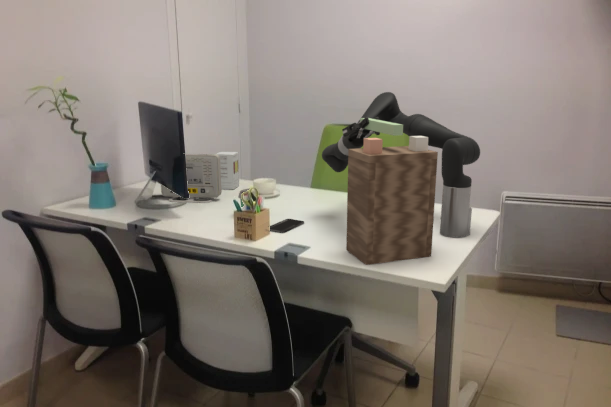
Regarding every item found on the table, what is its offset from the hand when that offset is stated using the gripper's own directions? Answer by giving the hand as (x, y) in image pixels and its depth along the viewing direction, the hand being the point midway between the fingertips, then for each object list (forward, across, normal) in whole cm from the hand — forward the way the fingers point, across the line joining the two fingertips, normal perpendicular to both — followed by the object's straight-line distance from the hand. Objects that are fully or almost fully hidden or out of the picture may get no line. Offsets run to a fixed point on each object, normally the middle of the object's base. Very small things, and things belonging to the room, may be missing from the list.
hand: (372, 119), depth 167 cm
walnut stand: (-9, 0, +41) cm, 42 cm away
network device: (-87, -47, -4) cm, 99 cm away
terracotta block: (+9, -8, +14) cm, 18 cm away
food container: (-56, -31, +14) cm, 66 cm away
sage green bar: (+3, 0, +5) cm, 6 cm away
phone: (-42, -21, +23) cm, 52 cm away
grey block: (+9, +8, +14) cm, 18 cm away
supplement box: (-104, -27, -14) cm, 108 cm away
